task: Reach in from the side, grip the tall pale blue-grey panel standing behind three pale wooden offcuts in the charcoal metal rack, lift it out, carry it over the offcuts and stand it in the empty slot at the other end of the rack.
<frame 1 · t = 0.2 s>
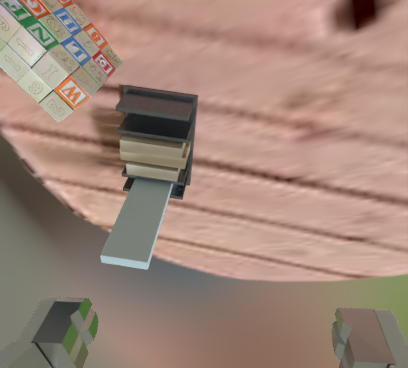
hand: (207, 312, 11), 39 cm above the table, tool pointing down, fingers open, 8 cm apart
slot rack: (161, 138, 53), on the table
offcut b: (159, 141, 52), point 1 cm above the table, touching slot rack
offcut c: (159, 153, 53), point 1 cm above the table, touching slot rack
offcut a: (159, 129, 50), point 1 cm above the table, touching slot rack
stack of blocks: (52, 6, 42), on the table
tall panel: (159, 168, 56), point 1 cm above the table, touching slot rack
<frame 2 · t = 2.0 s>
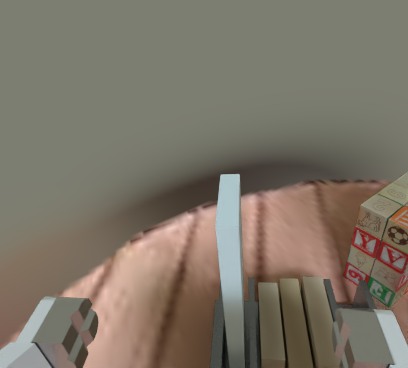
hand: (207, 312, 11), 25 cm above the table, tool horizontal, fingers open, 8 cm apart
slot rack: (290, 353, 34), on the table
offcut b: (291, 348, 33), point 1 cm above the table, touching slot rack
offcut c: (269, 347, 34), point 1 cm above the table, touching slot rack
offcut a: (314, 349, 33), point 1 cm above the table, touching slot rack
tall panel: (238, 345, 34), point 1 cm above the table, touching slot rack
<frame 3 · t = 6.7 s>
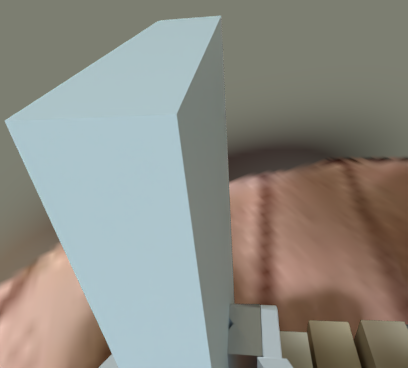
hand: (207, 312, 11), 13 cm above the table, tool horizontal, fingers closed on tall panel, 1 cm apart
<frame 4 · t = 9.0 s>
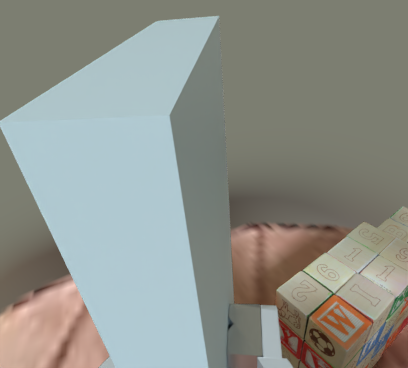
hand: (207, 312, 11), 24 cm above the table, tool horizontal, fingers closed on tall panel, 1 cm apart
stack of blocks: (358, 328, 34), on the table
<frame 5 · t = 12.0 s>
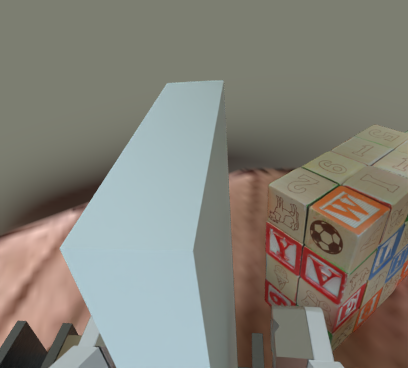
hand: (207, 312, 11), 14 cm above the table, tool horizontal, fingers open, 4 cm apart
stack of blocks: (369, 261, 30), on the table
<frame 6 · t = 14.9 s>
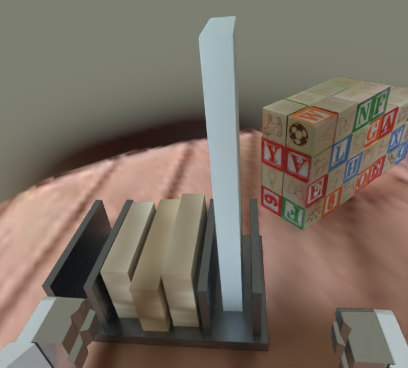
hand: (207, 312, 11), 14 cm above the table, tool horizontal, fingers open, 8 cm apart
slot rack: (170, 285, 29), on the table
offcut b: (168, 278, 28), point 1 cm above the table, touching slot rack
offcut c: (143, 277, 29), point 1 cm above the table, touching slot rack
offcut a: (194, 278, 28), point 1 cm above the table, touching slot rack
stack of blocks: (337, 182, 40), on the table
tall panel: (233, 280, 27), point 1 cm above the table, touching slot rack
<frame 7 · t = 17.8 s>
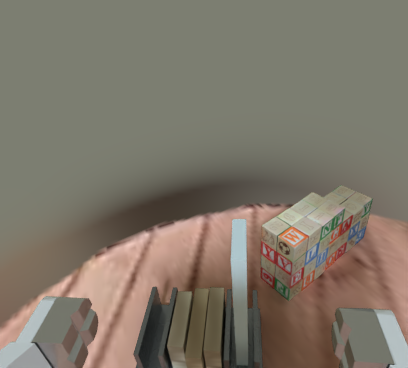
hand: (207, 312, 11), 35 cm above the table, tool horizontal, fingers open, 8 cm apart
slot rack: (201, 344, 46), on the table
offcut b: (201, 340, 45), point 1 cm above the table, touching slot rack
offcut c: (185, 339, 45), point 1 cm above the table, touching slot rack
offcut a: (217, 341, 45), point 1 cm above the table, touching slot rack
stack of blocks: (314, 258, 57), on the table
tall panel: (242, 343, 44), point 1 cm above the table, touching slot rack
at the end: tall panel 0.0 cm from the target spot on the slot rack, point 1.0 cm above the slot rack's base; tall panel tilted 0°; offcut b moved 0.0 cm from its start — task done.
